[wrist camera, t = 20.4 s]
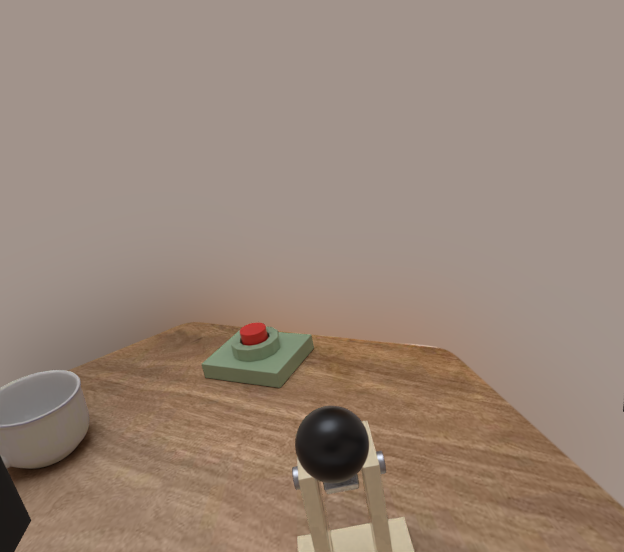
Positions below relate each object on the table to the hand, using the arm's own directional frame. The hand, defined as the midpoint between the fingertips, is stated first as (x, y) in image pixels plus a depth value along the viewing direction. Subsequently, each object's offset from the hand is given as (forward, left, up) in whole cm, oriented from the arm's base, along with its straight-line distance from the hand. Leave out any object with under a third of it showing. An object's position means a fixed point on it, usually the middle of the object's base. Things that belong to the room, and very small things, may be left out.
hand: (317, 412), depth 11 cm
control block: (+35, -44, -30) cm, 64 cm away
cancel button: (+35, -44, -26) cm, 62 cm away
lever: (+7, -12, -15) cm, 21 cm away
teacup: (+51, -20, -30) cm, 63 cm away
